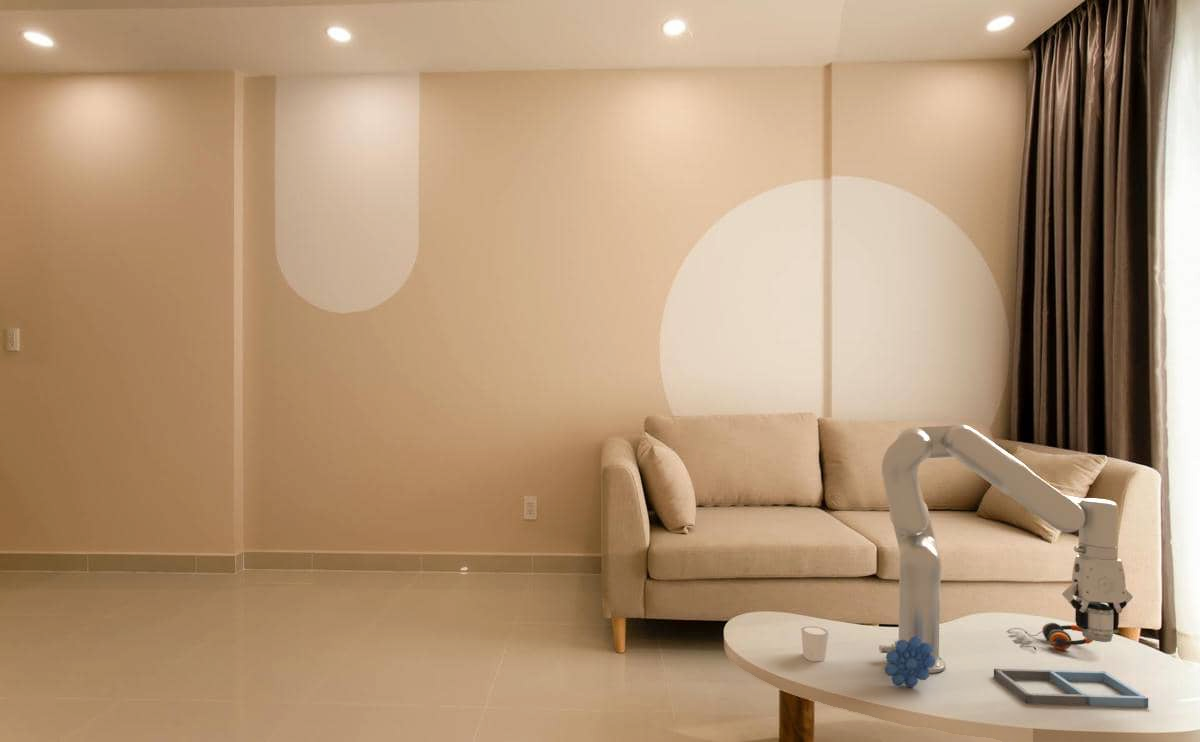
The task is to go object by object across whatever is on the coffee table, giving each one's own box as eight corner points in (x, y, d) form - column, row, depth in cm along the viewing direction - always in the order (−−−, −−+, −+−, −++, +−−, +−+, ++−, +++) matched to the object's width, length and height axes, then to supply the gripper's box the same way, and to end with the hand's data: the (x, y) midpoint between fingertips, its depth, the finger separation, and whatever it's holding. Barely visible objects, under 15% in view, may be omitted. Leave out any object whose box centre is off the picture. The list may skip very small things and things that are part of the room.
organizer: (1027, 703, 158) (1027, 695, 158) (993, 676, 172) (993, 668, 172) (1148, 707, 157) (1148, 698, 157) (1104, 679, 171) (1104, 671, 171)
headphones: (1001, 620, 204) (1078, 612, 199) (1005, 638, 204) (1082, 631, 198) (1017, 641, 188) (1101, 634, 183) (1022, 661, 188) (1106, 654, 182)
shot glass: (799, 660, 180) (799, 633, 180) (802, 650, 186) (802, 624, 186) (827, 664, 177) (827, 637, 177) (829, 654, 184) (829, 628, 184)
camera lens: (1091, 631, 169) (1091, 598, 169) (1119, 640, 163) (1119, 606, 163) (1074, 634, 166) (1075, 601, 166) (1102, 644, 160) (1103, 610, 160)
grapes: (926, 679, 170) (927, 630, 170) (939, 692, 163) (940, 641, 163) (878, 677, 170) (879, 628, 170) (888, 690, 163) (889, 639, 163)
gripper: (1071, 555, 161) (1070, 632, 161) (1147, 556, 161) (1146, 634, 161) (1050, 547, 168) (1049, 621, 168) (1123, 548, 168) (1122, 622, 168)
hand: (1096, 627), depth 165 cm, fingers closed on camera lens, 6 cm apart
